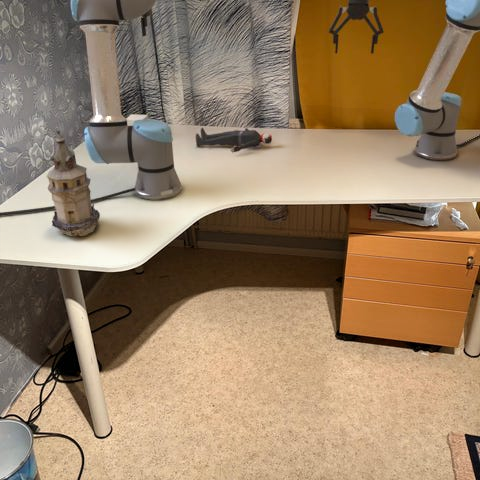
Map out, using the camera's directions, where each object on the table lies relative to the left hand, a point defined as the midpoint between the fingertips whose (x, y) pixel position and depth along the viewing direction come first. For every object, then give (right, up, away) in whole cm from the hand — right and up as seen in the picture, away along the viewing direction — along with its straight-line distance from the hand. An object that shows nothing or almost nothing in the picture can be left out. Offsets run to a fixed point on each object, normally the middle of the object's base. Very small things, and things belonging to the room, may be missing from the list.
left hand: (127, 35), depth 207 cm
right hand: (+88, -7, 0) cm, 88 cm away
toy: (+42, -41, +9) cm, 59 cm away
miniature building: (-3, -76, -51) cm, 92 cm away
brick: (+1, -35, +20) cm, 41 cm away
